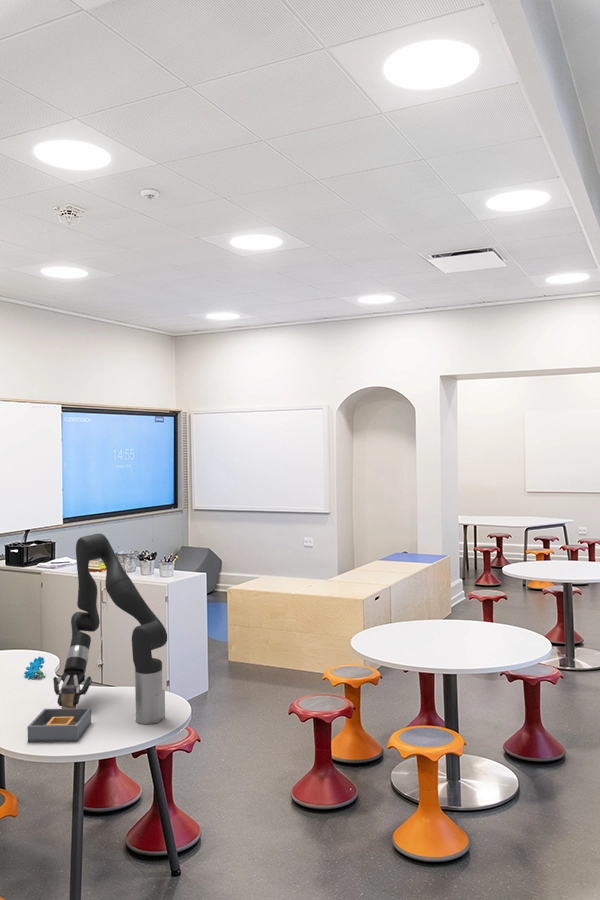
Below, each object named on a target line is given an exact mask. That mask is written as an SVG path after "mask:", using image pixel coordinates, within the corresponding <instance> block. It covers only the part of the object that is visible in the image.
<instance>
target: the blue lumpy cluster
mask: <svg viewBox="0 0 600 900" xmlns="http://www.w3.org/2000/svg"><path fill="white" fill-rule="evenodd" d="M45 662H46V660H45V658H44V657H43V656H38V657H35V658H34V659H33V661H30V662H29V665H30V666H29V665H28V666H26V667H25V671H24V673H23V675H24V677H25V679H27V678H28V679H31V678H34V677H35V676H36V675H38V676H39V677H40V676H41V677H42V678H43V679H44V678H45V679H46V675H44V672H43V671H42V670H41V669H42V668H43V667H44V664H45Z"/></svg>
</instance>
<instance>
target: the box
mask: <svg viewBox="0 0 600 900" xmlns="http://www.w3.org/2000/svg"><path fill="white" fill-rule="evenodd" d="M91 724H92V708H91V707H88V708H87V707H86V708H85V707H83V708H78V707H76V708H69V709H62V708H43V710H42V711H40V713H39V714H38V715H37V716H36V717H35V718H34V719H33V720H32V721H31V722H30V723H29V724H28V725H27V743H48V742H49V743H53V742H54V743H55V742H56V743H58V742H60V743H61V742H62V743H63V742H68V743H69V742H70V743H71V742H79V740H80V738H81V737H82V736H83V734H85V732H86V731H87V729H88V728H89V726H90V725H91Z"/></svg>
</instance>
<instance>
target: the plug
mask: <svg viewBox="0 0 600 900" xmlns="http://www.w3.org/2000/svg"><path fill="white" fill-rule="evenodd" d="M61 687H62V686H61ZM75 688H76V685H64V686H63V687H62V688H60V689H61V696H62V706H61V709H69V708H77V705H76V706H74V705H73V700H74V695H75V694H76V689H75Z"/></svg>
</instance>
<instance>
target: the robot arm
mask: <svg viewBox="0 0 600 900" xmlns="http://www.w3.org/2000/svg"><path fill="white" fill-rule="evenodd" d="M75 557H76V569H77V570H76V571H77V581H78V582H77V583H78V591H77V603H76V605H77V608H78V609H79V610H81V611H76V612H74V613H73V614H72V616H71V619H70V625H71V640H70V645H69V649H68V652H67V656H66V660H65V665H64V667H63V668H64V669H63V673H62V674H61V676H60V677H57V676H54V677H53V678H52V679H53V681H52V682H53V691H54V693H55V695H56V696H57V705H58V706H59V707H62V696H61V688H62V687H63V686H64V685H76V688H75V689H76V694H75V695H74V700H73V705H74V706H76V707H77V705H79V702H80V699H81V696H82V695H84V696H85V695H86V694H87V692H88V691H89V688H90V686H91V684H92V682H93V679H92V677H91V676H86V671H87V670H86V669H87V664H88V661H89V653H90V652H89V651H90V647H91V642H92V638H91V635H90V634H88V633H85V632H89V633H91V632H93V633H94V632H96V631H98V629H99V627H100V621H101V620H100V616H99V611H98V608H97V607H98V606H97V603H98V602H97V601H98V586H97V583H96V580H95V579H94V577H93V576H92V574H91V572H90V569H89V566H90V561H94V560H98V559H100V560H101V561H102V562H103V564H104V566H105V569H106V573H105V585H104V586H105V590H106V592H107V594H108V595H109V598H110V599H111V600H112V602H113V603H114V604H115V606H116V607H118V608H119V609H120V610H122V611H123V612H125V613H127V614H128V615H130V616H131V617H133V618H134V619H135V620H136V621H138V624H139V625H137V626H136V627H134V629H133V630H132V633H131V647H132V649H131V651H132V662H133V664H134V671H135V672H134V675H135V677H134V684H135V686H134V688H135V690H134V693H135V698H134V699H135V721H136V722H137V724H138V723H139V724H144V725H149V724H150V725H151V724H159V723H160V722H161V721H162V720H164V718H166V691H165V690H164V689H163V661H162V660H161V659H160V658H156V657H155V658H154V657H153V654H152V651H153V650H154V651H155V650H158V649H159V648H162V647H164V646H165V645H166V644H167V642H168V632H167V630H166V628H165V625H164V624H163V623H162V622H161V620H160V619H159V617H158V616H157V615H156V614H155V613H154V611H153V610H151V608H150V607H149V605H148V604H147V603H146V601H145V599H144V598H143V596H142V595H141V593H140V592H139V591H138V589H137V587H136V586H135V584H134V582H133V581H132V579H131V578H130V577H129V574H127V572H126V570H125V569H124V567H123V566H122V564H121V561H119V559H118V557H117V555H116V553H115V551H114V548H113V547H112V545H111V543H110V541H109V540H108V538H107V537H106V535H105V534H103V533H101V532H99V533H93V534H89V535H85V536H84V535H83V536H81V537H79V538H78V539H77V541H76V544H75ZM61 681H62V684H61V688H60V683H61ZM83 682H84V684H83V686H82V688H81V684H82V683H83Z"/></svg>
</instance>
